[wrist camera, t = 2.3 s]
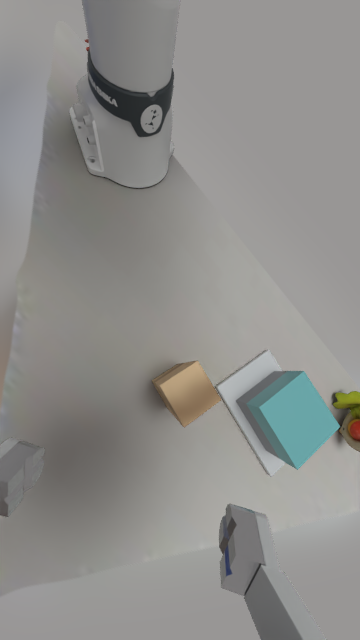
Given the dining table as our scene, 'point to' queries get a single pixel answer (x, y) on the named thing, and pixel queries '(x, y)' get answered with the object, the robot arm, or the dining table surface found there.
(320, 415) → the brick tower
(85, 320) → the dining table surface
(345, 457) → the dining table surface
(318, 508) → the dining table surface
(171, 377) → the oak brick
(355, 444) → the bird rattle
